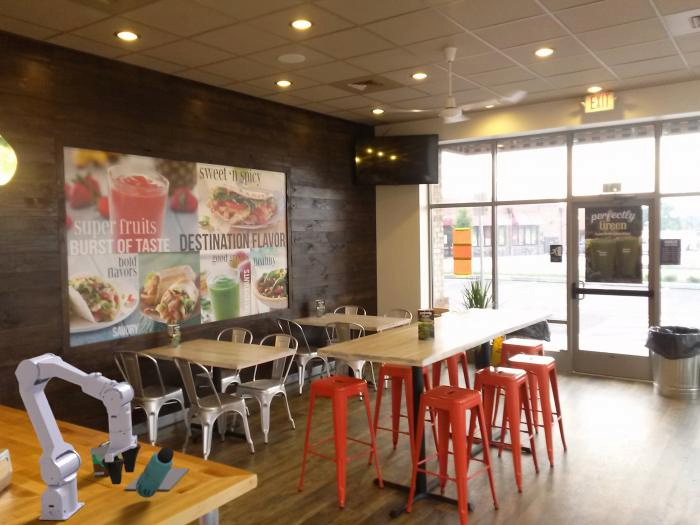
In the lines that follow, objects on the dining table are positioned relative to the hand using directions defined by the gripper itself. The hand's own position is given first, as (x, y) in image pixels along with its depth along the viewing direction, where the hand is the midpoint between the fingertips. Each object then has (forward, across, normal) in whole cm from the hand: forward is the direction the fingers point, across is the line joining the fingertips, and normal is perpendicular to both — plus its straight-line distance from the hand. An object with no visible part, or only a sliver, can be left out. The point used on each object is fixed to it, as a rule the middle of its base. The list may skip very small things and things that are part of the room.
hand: (123, 477), depth 162 cm
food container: (+11, +29, +19) cm, 36 cm away
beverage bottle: (+8, +10, -1) cm, 13 cm away
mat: (+10, +23, +1) cm, 25 cm away
